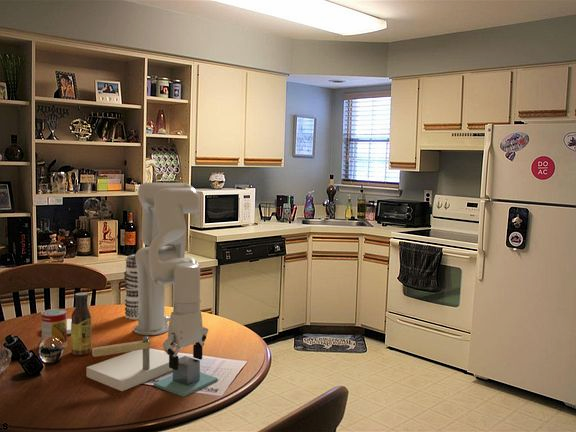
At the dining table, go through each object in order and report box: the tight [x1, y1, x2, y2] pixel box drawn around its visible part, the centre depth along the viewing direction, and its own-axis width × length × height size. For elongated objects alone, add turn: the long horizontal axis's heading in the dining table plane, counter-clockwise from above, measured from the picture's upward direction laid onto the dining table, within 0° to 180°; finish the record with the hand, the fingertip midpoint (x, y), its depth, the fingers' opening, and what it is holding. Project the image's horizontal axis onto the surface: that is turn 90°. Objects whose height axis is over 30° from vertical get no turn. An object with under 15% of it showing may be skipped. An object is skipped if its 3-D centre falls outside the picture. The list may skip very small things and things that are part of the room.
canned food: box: [40, 308, 68, 349], centre depth 190 cm, size 8×8×12 cm
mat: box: [153, 371, 219, 398], centre depth 164 cm, size 14×12×1 cm
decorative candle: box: [123, 253, 138, 320], centre depth 226 cm, size 9×9×25 cm
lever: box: [91, 335, 151, 358], centre depth 162 cm, size 2×16×3 cm, turn 120°
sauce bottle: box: [70, 292, 92, 356], centre depth 185 cm, size 6×6×20 cm
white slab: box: [86, 347, 173, 392], centre depth 171 cm, size 22×16×10 cm
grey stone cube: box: [172, 355, 201, 386], centre depth 164 cm, size 5×6×6 cm
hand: (186, 363), depth 164 cm, fingers open, 9 cm apart
